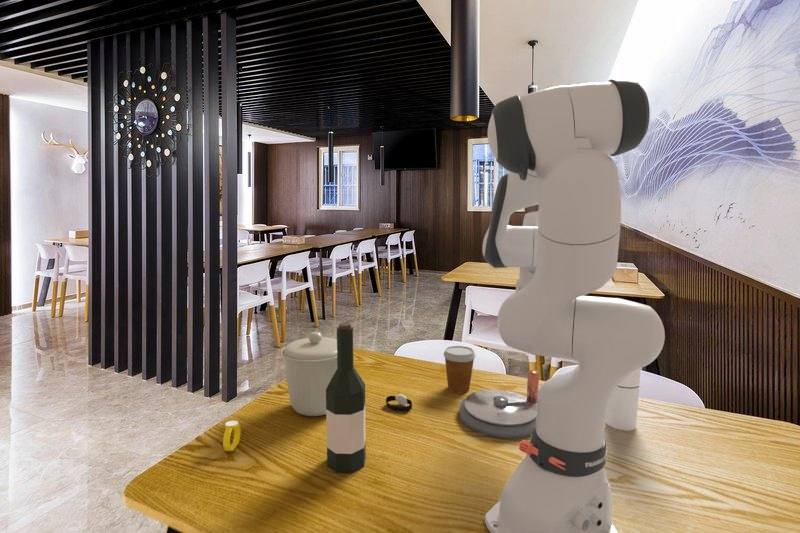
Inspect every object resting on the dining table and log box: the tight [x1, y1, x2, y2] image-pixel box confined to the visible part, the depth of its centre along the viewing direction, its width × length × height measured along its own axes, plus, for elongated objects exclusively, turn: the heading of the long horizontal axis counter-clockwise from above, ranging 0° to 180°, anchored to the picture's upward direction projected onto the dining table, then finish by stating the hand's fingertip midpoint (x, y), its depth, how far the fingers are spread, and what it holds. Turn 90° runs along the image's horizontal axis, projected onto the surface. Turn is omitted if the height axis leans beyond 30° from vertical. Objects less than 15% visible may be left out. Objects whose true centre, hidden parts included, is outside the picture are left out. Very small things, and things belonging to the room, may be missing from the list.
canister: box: [280, 331, 337, 417], centre depth 114 cm, size 18×18×21 cm
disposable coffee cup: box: [443, 345, 476, 394], centre depth 128 cm, size 10×10×12 cm
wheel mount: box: [459, 398, 536, 440], centre depth 110 cm, size 21×21×2 cm
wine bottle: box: [325, 322, 367, 474], centre depth 89 cm, size 8×8×30 cm
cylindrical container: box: [605, 368, 642, 431], centre depth 106 cm, size 7×7×25 cm
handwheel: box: [464, 369, 540, 427], centre depth 110 cm, size 19×18×10 cm
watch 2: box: [385, 393, 413, 412], centre depth 116 cm, size 8×5×4 cm, turn 62°
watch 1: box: [222, 420, 242, 452], centre depth 96 cm, size 6×3×6 cm, turn 177°
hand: (535, 330), depth 109 cm, fingers open, 8 cm apart
